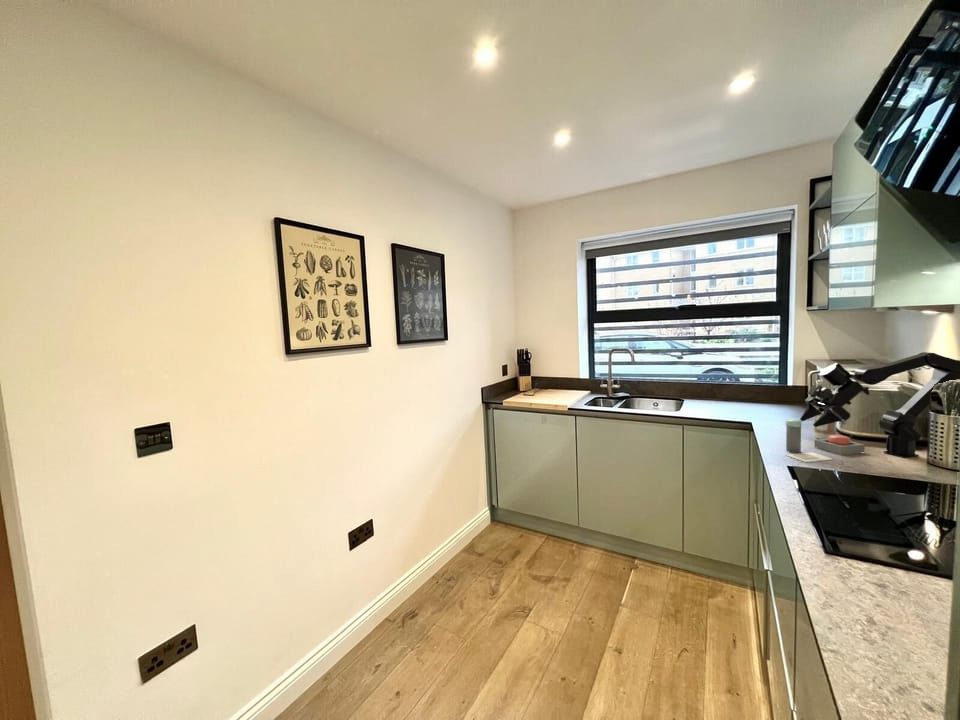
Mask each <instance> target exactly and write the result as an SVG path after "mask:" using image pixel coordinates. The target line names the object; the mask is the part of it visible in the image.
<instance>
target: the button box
mask: <svg viewBox="0 0 960 720" xmlns="http://www.w3.org/2000/svg"><path fill="white" fill-rule="evenodd" d="M815 447H817V448H816V449H819V450H822V449H823V451H825V452H829V453H832V452H833V454H837V455H840V456H843V455H854V453H856V454H862V453H861V452H864V453H865V444H863V443H859V442H854V441H851V440H850V445H841V446H840V445H837V444H833V443H829V442H828V439H814V448H815Z"/></svg>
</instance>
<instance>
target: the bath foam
mask: <svg viewBox="0 0 960 720" xmlns="http://www.w3.org/2000/svg"><path fill="white" fill-rule="evenodd" d="M821 402H822V401H821ZM821 413H822V414H819V415H817V416H815V417H813V418H814V423H815V422H816V421H817V420H818V419H819V418H820V417H821V416H822V415H823V414H824V412H821ZM814 423H813V424H814ZM813 430H814V431H813V436H814V438H815V437H816V438H815V439H817V438H819V439H828V438H829V435H837V422H834V423H830V424H826V425H822V426H818V427H815V426H814V427H813ZM819 439H818V440H819Z"/></svg>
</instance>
